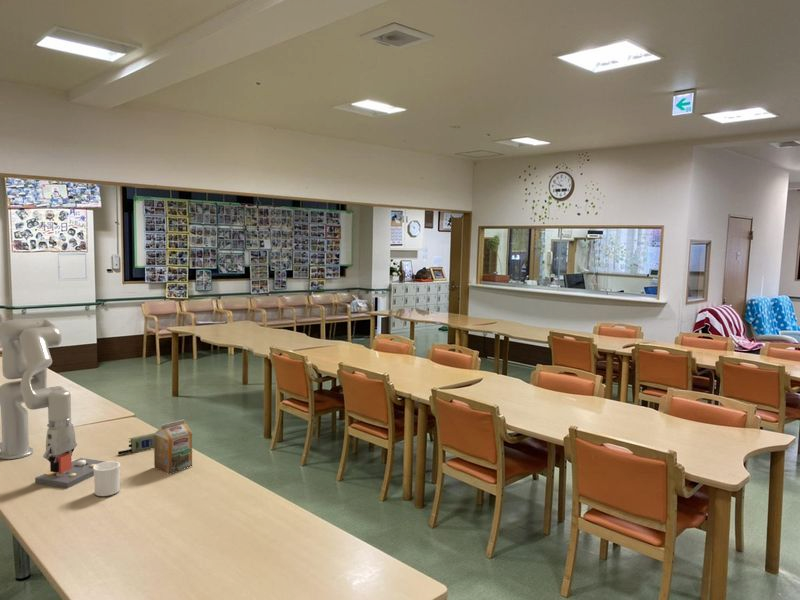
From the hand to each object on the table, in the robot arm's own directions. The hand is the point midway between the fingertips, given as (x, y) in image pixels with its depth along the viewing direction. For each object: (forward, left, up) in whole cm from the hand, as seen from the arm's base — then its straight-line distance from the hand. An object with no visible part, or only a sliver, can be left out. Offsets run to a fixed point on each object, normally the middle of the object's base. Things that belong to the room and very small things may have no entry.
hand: (60, 468), depth 222 cm
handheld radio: (+8, +39, -5) cm, 40 cm away
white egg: (0, +10, -3) cm, 10 cm away
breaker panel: (+2, +5, -4) cm, 7 cm away
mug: (+26, -4, -4) cm, 26 cm away
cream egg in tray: (0, 0, -4) cm, 4 cm away
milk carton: (+33, +24, -4) cm, 41 cm away
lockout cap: (0, 0, -1) cm, 1 cm away
